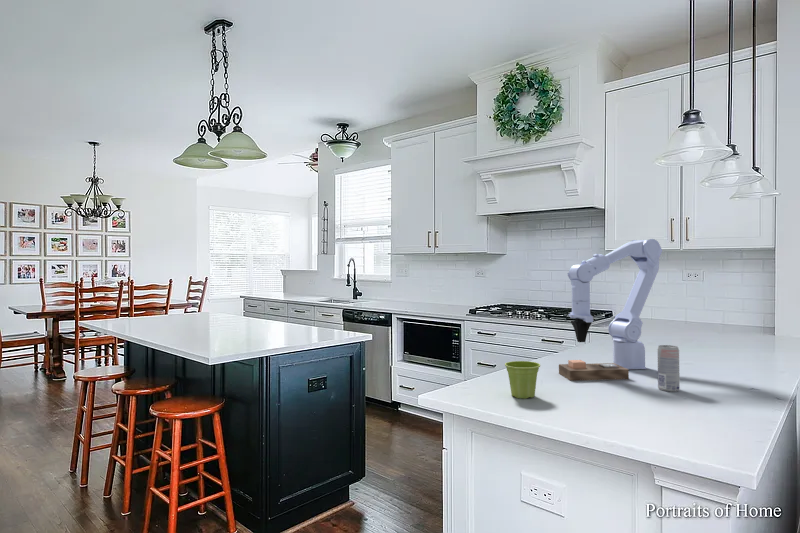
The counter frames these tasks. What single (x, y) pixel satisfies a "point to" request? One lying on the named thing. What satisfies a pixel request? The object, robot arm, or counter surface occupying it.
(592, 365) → the button panel
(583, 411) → the counter surface
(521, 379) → the plant pot
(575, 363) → the terracotta button
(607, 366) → the white marbled block
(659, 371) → the energy drink
